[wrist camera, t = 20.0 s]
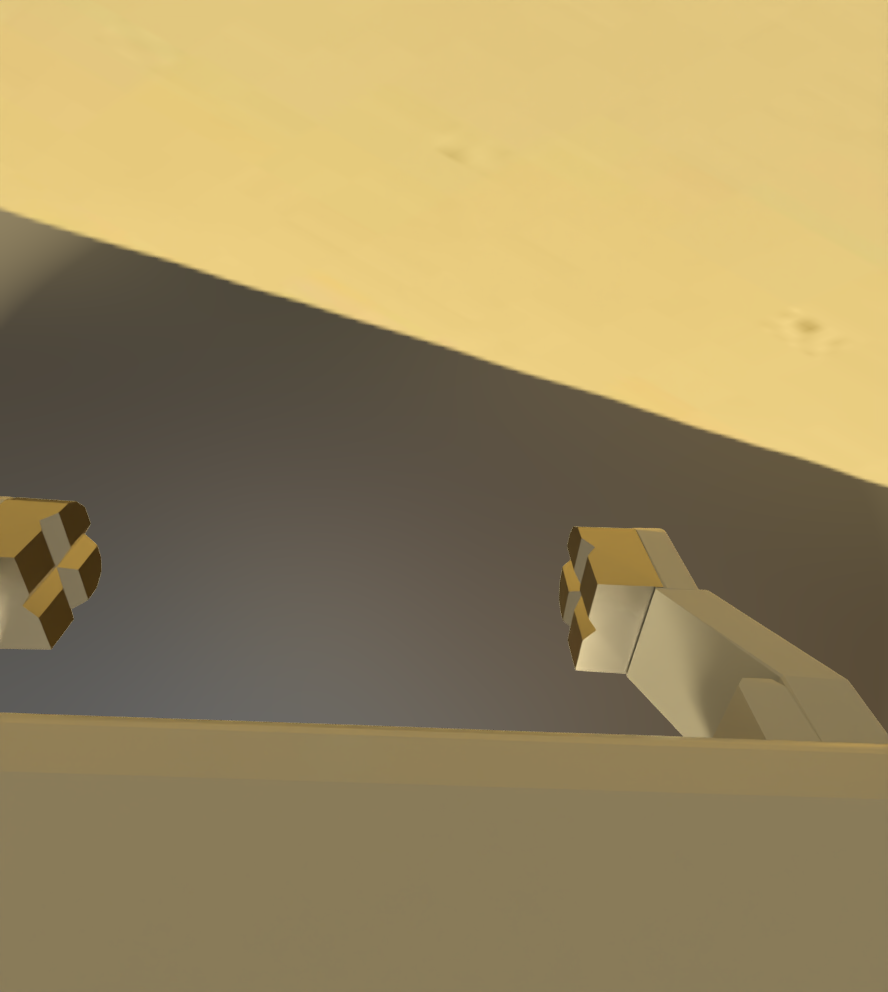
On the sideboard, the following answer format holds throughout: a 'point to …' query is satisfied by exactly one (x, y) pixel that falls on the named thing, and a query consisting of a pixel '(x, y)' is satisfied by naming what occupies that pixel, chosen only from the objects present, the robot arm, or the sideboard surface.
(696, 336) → the sideboard surface
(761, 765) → the robot arm
